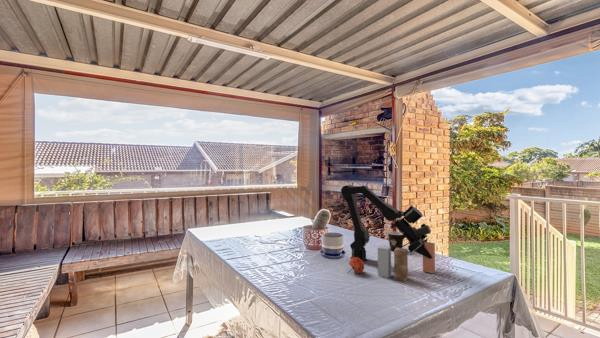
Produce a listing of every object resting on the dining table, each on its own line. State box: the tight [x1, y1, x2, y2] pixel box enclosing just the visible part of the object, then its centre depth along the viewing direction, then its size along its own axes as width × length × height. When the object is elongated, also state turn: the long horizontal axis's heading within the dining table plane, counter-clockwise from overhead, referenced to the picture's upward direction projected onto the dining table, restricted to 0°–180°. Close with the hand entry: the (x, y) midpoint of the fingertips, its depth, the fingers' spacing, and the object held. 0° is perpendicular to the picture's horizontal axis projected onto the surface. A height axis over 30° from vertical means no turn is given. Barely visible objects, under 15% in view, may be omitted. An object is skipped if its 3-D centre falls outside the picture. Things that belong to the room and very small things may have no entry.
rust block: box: [422, 241, 436, 274], centre depth 128 cm, size 4×4×12 cm
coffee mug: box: [387, 231, 410, 253], centre depth 160 cm, size 12×9×10 cm
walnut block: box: [393, 247, 409, 282], centre depth 120 cm, size 4×4×12 cm
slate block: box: [377, 244, 392, 279], centre depth 124 cm, size 4×4×12 cm
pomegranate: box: [347, 257, 365, 275], centre depth 127 cm, size 7×7×10 cm
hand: (432, 256), depth 127 cm, fingers closed on rust block, 4 cm apart
